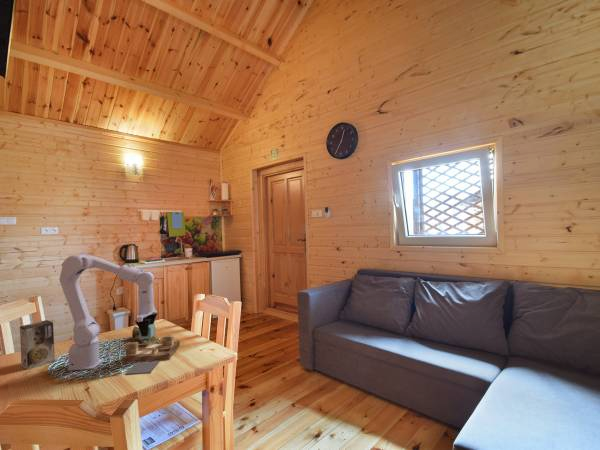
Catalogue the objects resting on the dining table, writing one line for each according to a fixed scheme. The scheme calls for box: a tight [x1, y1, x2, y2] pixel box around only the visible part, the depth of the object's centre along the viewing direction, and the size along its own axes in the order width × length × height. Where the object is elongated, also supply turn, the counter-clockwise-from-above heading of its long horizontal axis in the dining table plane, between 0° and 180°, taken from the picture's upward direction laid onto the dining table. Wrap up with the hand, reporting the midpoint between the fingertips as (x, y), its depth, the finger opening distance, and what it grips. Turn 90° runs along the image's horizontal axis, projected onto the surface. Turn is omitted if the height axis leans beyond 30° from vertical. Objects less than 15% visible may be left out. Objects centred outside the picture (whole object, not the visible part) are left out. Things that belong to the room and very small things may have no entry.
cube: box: [139, 323, 156, 340], centre depth 126 cm, size 4×4×4 cm
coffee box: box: [19, 319, 56, 370], centre depth 124 cm, size 9×6×16 cm
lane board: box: [121, 340, 181, 364], centre depth 130 cm, size 18×14×2 cm
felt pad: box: [124, 360, 160, 376], centre depth 117 cm, size 9×9×1 cm
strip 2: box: [145, 334, 175, 349], centre depth 134 cm, size 11×4×5 cm, turn 95°
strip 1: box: [124, 341, 158, 356], centre depth 127 cm, size 12×4×5 cm, turn 95°
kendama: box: [129, 326, 156, 344], centre depth 146 cm, size 6×10×20 cm
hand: (147, 333), depth 126 cm, fingers closed on cube, 4 cm apart
